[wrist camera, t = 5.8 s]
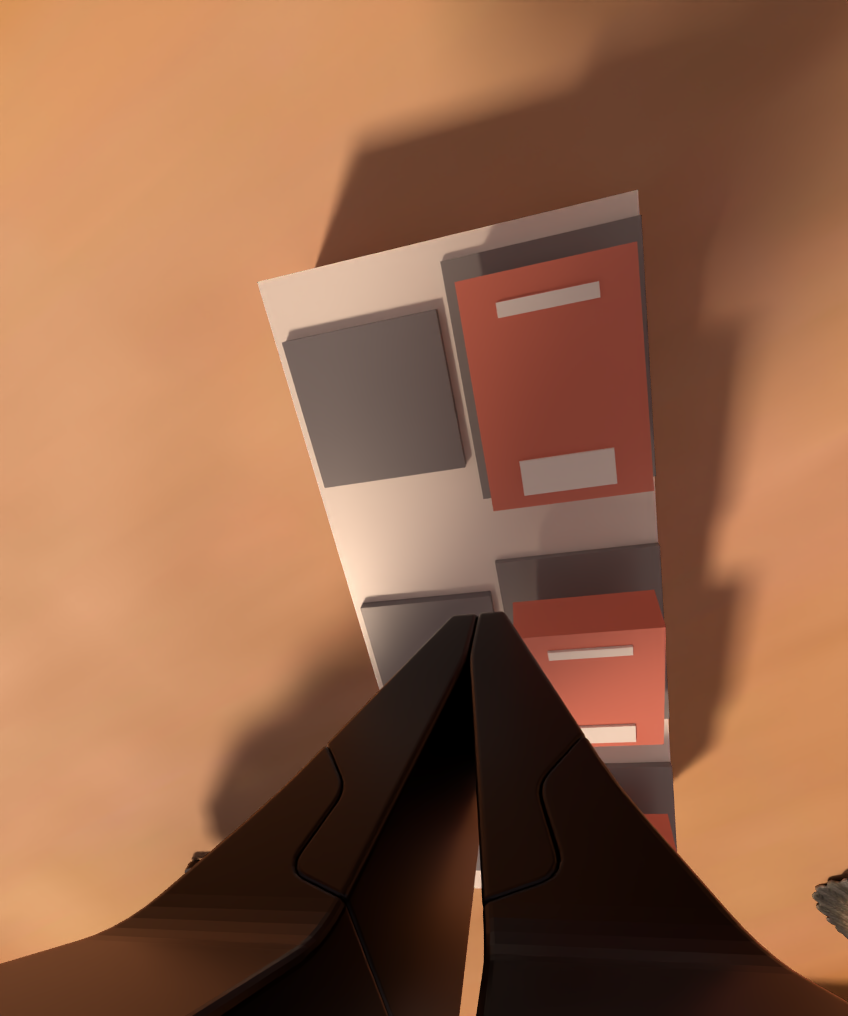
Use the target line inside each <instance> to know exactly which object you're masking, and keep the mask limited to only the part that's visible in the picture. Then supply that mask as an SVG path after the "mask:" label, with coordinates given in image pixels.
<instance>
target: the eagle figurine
mask: <svg viewBox="0 0 848 1016" xmlns="http://www.w3.org/2000/svg"><path fill="white" fill-rule="evenodd" d="M815 889H816V892H814V893H813V894H812V897H813V899H814V900H816V901H817V902H818V903H819V904H817V905H816V907H817V909H818V910H819V911H820V912H822V913H823V914H824V915H826V916H829V917H827V918H826V919H827V921H828V922H830V923H831V924H833V925H835V928H836V929H837V931H838V932H840V933H842V934H843V935H844V936H845V937H846V938H847V939H848V878H844V879H842V881H835V880H829V881H828V882H827V885H818V886H816V887H815Z"/></svg>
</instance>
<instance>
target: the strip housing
mask: <svg viewBox="0 0 848 1016" xmlns="http://www.w3.org/2000/svg"><path fill="white" fill-rule="evenodd" d="M632 242H637V245H638V260H639V275H640V289H641V304H642V319H643V333H644V348H645V363H646V377H647V392H648V406H649V421H650V436H651V450H652V465H653V480H654V491H649V492H641V493H633V494H625V495H617V496H610V497H602V498H594V499H586V500H578V501H570V502H563V503H555V504H547V505H539V506H531V507H523V508H516V509H508V510H500V511H493V505H492V499H491V494H490V488H489V482H488V476H487V470H486V464H485V458H484V452H483V447H482V441H481V435H480V429H479V423H478V417H477V411H476V405H475V400H474V394H473V388H472V382H471V376H470V370H469V364H468V358H467V352H466V347H465V341H464V335H463V329H462V323H461V317H460V311H459V305H458V300H457V294H456V288H455V282H457V281H462V280H466V279H471V278H475V277H480V276H484V275H489V274H493V273H498V272H502V271H507V270H511V269H516V268H520V267H524V266H529V265H533V264H538V263H542V262H547V261H551V260H556V259H560V258H565V257H569V256H574V255H578V254H583V253H587V252H592V251H596V250H601V249H605V248H610V247H614V246H619V245H623V244H628V243H632ZM257 283H258V286H259V289H260V293H261V296H262V299H263V303H264V306H265V309H266V313H267V316H268V319H269V323H270V326H271V330H272V333H273V336H274V340H275V343H276V346H277V350H278V353H279V356H280V360H281V363H282V366H283V370H284V373H285V376H286V380H287V383H288V386H289V390H290V393H291V396H292V400H293V403H294V406H295V410H296V413H297V416H298V420H299V423H300V426H301V430H302V433H303V436H304V440H305V443H306V446H307V450H308V453H309V456H310V460H311V463H312V466H313V470H314V473H315V476H316V480H317V483H318V486H319V490H320V493H321V496H322V500H323V503H324V506H325V510H326V513H327V517H328V520H329V523H330V527H331V530H332V533H333V537H334V540H335V543H336V547H337V550H338V553H339V557H340V560H341V563H342V567H343V570H344V573H345V577H346V580H347V583H348V587H349V590H350V593H351V597H352V600H353V603H354V607H355V610H356V613H357V617H358V620H359V623H360V627H361V630H362V633H363V637H364V640H365V643H366V647H367V650H368V653H369V657H370V660H371V663H372V667H373V670H374V673H375V677H376V680H377V683H378V687H379V690H380V689H381V688H382V687H383V686H384V685H385V684H386V683H387V682H388V681H389V680H390V679H391V678H392V677H393V676H394V675H395V674H396V673H397V672H398V671H399V670H400V669H401V668H402V667H403V666H404V665H405V664H406V663H407V662H408V661H409V660H410V659H411V658H412V656H413V655H414V654H415V653H416V652H417V651H418V650H419V649H420V648H421V647H422V646H423V645H424V644H425V643H426V642H427V641H428V640H429V639H430V638H431V637H432V636H433V635H434V634H435V633H436V632H437V631H438V630H439V629H440V628H441V627H442V626H443V625H444V624H445V623H446V622H447V621H448V620H449V619H450V618H451V617H452V616H454V615H464V614H476V615H477V616H479V615H480V614H481V613H487V612H498V611H502V612H504V613H505V614H506V615H507V616H508V618H509V619H510V621H511V623H512V624H513V602H523V601H534V600H545V599H557V598H568V597H579V596H590V595H601V594H612V593H623V592H634V591H645V590H655V594H656V597H657V600H658V603H659V606H660V610H661V613H662V616H663V619H664V612H663V594H662V576H661V558H660V545H659V543H658V531H657V514H656V496H655V479H654V476H656V469H655V451H654V433H653V415H652V397H651V379H650V361H649V343H648V325H647V307H646V290H645V272H644V254H643V236H642V218H641V215H639V198H638V190H634V191H630V192H626V193H622V194H617V195H613V196H609V197H605V198H601V199H597V200H593V201H589V202H584V203H580V204H576V205H572V206H568V207H564V208H560V209H556V210H552V211H547V212H543V213H539V214H535V215H531V216H527V217H523V218H519V219H514V220H510V221H506V222H502V223H498V224H494V225H490V226H486V227H481V228H477V229H473V230H469V231H465V232H461V233H457V234H453V235H449V236H444V237H440V238H436V239H432V240H428V241H424V242H420V243H416V244H411V245H407V246H403V247H399V248H395V249H391V250H387V251H383V252H379V253H374V254H370V255H366V256H362V257H358V258H354V259H350V260H346V261H341V262H337V263H333V264H329V265H325V266H321V267H317V268H313V269H308V270H304V271H300V272H296V273H292V274H288V275H284V276H280V277H276V278H271V279H267V280H263V281H259V282H257ZM668 719H669V701H668V684H667V666H666V651H665V705H664V744H662V745H631V746H600V747H594V749H595V751H596V752H597V754H598V755H599V757H600V758H601V760H602V761H603V762H604V764H605V765H606V767H607V768H608V769H609V771H610V772H611V774H612V775H613V776H614V778H615V779H616V781H617V782H618V783H619V785H620V786H621V787H622V789H623V790H624V791H625V792H626V794H627V795H628V796H629V797H630V798H631V800H632V801H633V802H634V803H635V804H636V806H637V807H638V808H639V809H640V811H641V812H642V813H643V814H668V817H669V821H670V826H671V830H672V834H673V838H674V842H675V847H676V851H677V845H676V827H675V809H674V791H673V773H672V765H671V760H670V742H669V725H668ZM474 888H481V869H480V851H479V849H478V857H477V866H476V875H475V883H474Z"/></svg>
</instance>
